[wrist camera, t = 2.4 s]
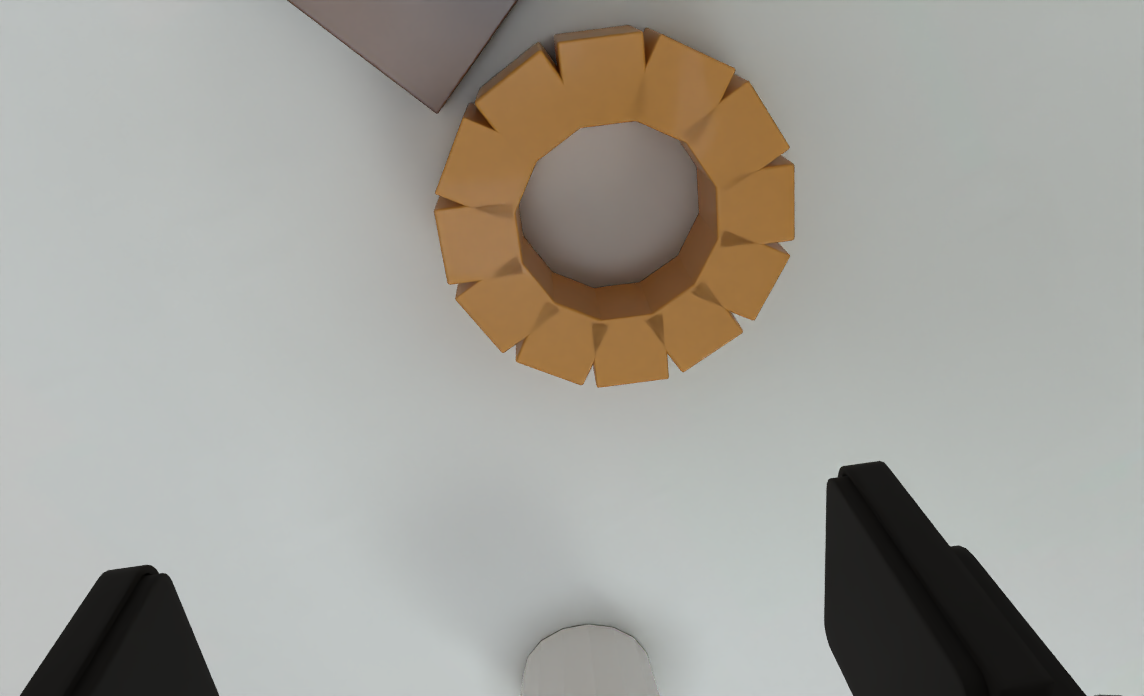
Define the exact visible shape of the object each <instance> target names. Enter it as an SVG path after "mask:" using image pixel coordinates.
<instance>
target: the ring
mask: <svg viewBox="0 0 1144 696" xmlns="http://www.w3.org/2000/svg"><path fill="white" fill-rule="evenodd" d="M553 39H554V47H555V56H556V64H557V66H556V64H555V63H554V62H553V60H552V59H551V57H550V56H549V55H548V53H547V52H546V50H545V49H544V48H543V46H542V45H541V43H539V42H537V43H535V44H534V45H533V46H532V47H530V48H529V49H528V50H527V51H525V52H524V53H523V54H522V55H520V56H519V57H518V58H517V59H515V60H514V61H513V62H512V63H511V64H509V65H508V66H507V67H506V68H504V69H503V70H502V71H501V72H499V73H498V74H497V75H496V76H494V77H493V78H492V79H491V80H489V81H488V82H487V83H486V84H484V85H483V86H482V87H481V88H480V89H479V92H478V94H477V97H476V100H475V104H473V103H469V104H468V106H467V108H466V111H465V113H464V116H463V118H462V121H461V124H460V126H459V129H458V132H457V134H456V137H455V140H454V143H453V145H452V148H451V151H450V153H449V156H448V159H447V162H446V164H445V167H444V170H443V172H442V175H441V178H440V181H439V183H438V186H437V189H436V191H435V194H437V195H439V199H438V201H437V204H436V207H435V209H434V215H435V220H436V225H437V230H438V236H439V241H440V246H441V251H442V257H443V262H444V267H445V272H446V278H447V283H448V284H450V285H451V284H458V287H457V292H456V297H455V299H456V301H457V302H458V303H459V304H460V305H461V307H462V308H463V309H464V310H465V311H466V312H467V313H468V314H469V316H470V317H471V318H472V319H473V320H474V321H475V322H476V324H477V325H478V326H479V327H480V328H481V329H482V330H483V332H484V333H485V334H486V335H487V336H488V337H489V338H490V340H491V341H492V342H493V343H494V344H495V345H496V346H497V348H498V349H499V350H500V351H501V352H502V353H504V352H506V351H507V350H509V349H510V348H511V347H513V346H514V345H516V362H518V363H521V364H524V365H526V366H529V367H532V368H535V369H537V370H540V371H543V372H546V373H548V374H551V375H554V376H557V377H560V378H562V379H565V380H568V381H571V382H573V383H576V384H579V385H583V384H584V382H585V380H586V377H587V375H588V373H589V371H590V369H591V367H592V365H593V369H594V374H595V380H596V385H597V387H598V388H599V387H607V386H614V385H622V384H630V383H638V382H645V381H653V380H661V379H668V378H669V373H668V359H667V354H668V355H669V356H670V358H671V359H672V360H673V361H674V363H675V364H676V365H677V367H678V368H679V369H680V370H681V371H682V372H685V371H686V370H688V369H689V368H691V367H692V366H694V365H695V364H697V363H698V362H700V361H701V360H703V359H704V358H706V357H707V356H709V355H710V354H712V353H713V352H715V351H716V350H718V349H719V348H721V347H722V346H724V345H725V344H727V343H728V342H730V341H731V340H733V339H734V338H736V337H737V336H739V335H740V334H742V332H743V330H742V328H741V327H740V325H739V323H738V322H737V320H736V319H735V317H734V315H733V314H732V312H733V313H735V314H738V315H740V316H743V317H745V318H748V319H750V320H755V319H756V317H757V315H758V313H759V311H760V310H761V308H762V306H763V304H764V302H765V301H766V299H767V297H768V295H769V293H770V292H771V290H772V288H773V286H774V284H775V283H776V281H777V279H778V277H779V275H780V274H781V272H782V270H783V268H784V266H785V265H786V263H787V261H788V259H789V258H790V255H789V254H788V253H787V252H786V251H785V250H784V249H783V248H782V246H781V245H780V244H779V243H778V242H784V241H792V240H794V237H795V227H794V164H793V163H791V162H790V161H789V160H787V159H786V158H784V157H783V156H781V154H783V153H784V152H786V151H787V150H788V149H789V148H790V147H789V145H788V143H787V142H786V140H785V138H784V137H783V135H782V134H781V132H780V130H779V129H778V127H777V125H776V124H775V122H774V121H773V119H772V117H771V116H770V114H769V113H768V111H767V109H766V108H765V106H764V104H763V103H762V101H761V100H760V98H759V96H758V95H757V93H756V92H755V90H754V88H753V87H752V85H751V83H750V82H749V81H747V80H745V79H743V78H741V77H739V76H737V75H734V73H735V68H733V67H731V66H729V65H727V64H724V63H722V62H720V61H718V60H716V59H714V58H712V57H710V56H708V55H705V54H703V53H701V52H699V51H697V50H695V49H693V48H691V47H688V46H686V45H684V44H682V43H680V42H678V41H676V40H674V39H671V38H669V37H667V36H665V35H663V34H661V33H658V32H656V31H654V30H651V29H649V28H645V30H644V32H642V31H640V30H638V29H636V28H634V27H632V26H630V25H625V26H617V27H609V28H601V29H593V30H585V31H578V32H570V33H562V34H555V35H554V37H553ZM632 121H637V122H639V123H642V124H644V125H646V126H648V127H651V128H653V129H655V130H657V131H660V132H662V133H664V134H666V135H669V136H671V137H673V138H675V139H678V140H679V141H680V143H681V144H682V146H683V147H684V149H685V150H686V151H687V153H688V154H689V156H690V157H691V159H692V160H693V162H694V163H695V165H696V166H697V184H698V204H699V214H698V216H697V218H696V220H695V222H694V224H693V226H692V228H691V230H690V232H689V234H688V236H687V238H686V240H685V242H684V244H683V246H682V248H681V250H680V252H679V254H678V256H676V257H675V258H674V259H672V260H671V261H669V262H668V263H667V264H665V265H664V266H662V267H661V268H659V269H658V270H657V271H655V272H654V273H652V274H651V275H650V276H648V277H647V278H645V279H644V280H642V281H641V282H637V283H629V284H621V285H614V286H606V287H598V288H592V287H590V286H587V285H585V284H582V283H579V282H577V281H574V280H572V279H569V278H567V277H564V276H561V275H559V274H556V273H554V272H552V271H551V270H550V269H549V267H548V266H547V265H546V264H545V262H544V261H543V260H542V259H541V257H540V256H539V255H538V254H537V252H536V251H535V250H534V249H533V247H532V246H531V245H530V244H529V243H528V241H527V240H526V239H525V238H524V236H523V232H522V225H521V218H520V211H519V203H520V201H521V198H522V196H523V193H524V191H525V188H526V186H527V184H528V181H529V179H530V176H531V174H532V171H533V169H534V167H535V164H536V162H537V161H538V160H539V159H541V158H542V157H543V156H545V155H546V154H547V153H549V152H550V151H551V150H552V149H554V148H555V147H556V146H558V145H559V144H560V143H562V142H563V141H564V140H565V139H567V138H568V137H569V136H571V135H572V134H573V133H575V132H576V131H577V130H579V129H580V128H585V127H593V126H601V125H608V124H616V123H624V122H632Z"/></svg>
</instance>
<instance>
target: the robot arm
mask: <svg viewBox="0 0 1144 696" xmlns="http://www.w3.org/2000/svg"><path fill="white" fill-rule="evenodd" d="M824 625H825V632H826V636H827V640H828V643H829V646H830V648H831V651H832V653H833V655H834V657H835V659H836V661H837V663H838V665H839V667H840V669H841V671H842V673H843V675H844V678H845V680H846V682H847V684H848V686H849V688H850V690H851V692H852V694H853V696H1086V695H1085V693H1084V692H1083V691H1082V690H1081V688H1080V687H1079V686H1078V685H1077V683H1076V682H1075V681H1074V680H1073V679H1072V677H1071V676H1070V675H1069V674H1068V672H1067V671H1066V670H1065V669H1064V667H1063V666H1062V665H1061V664H1060V662H1059V661H1058V660H1057V659H1056V657H1055V656H1054V655H1053V654H1052V652H1051V651H1050V650H1049V649H1048V647H1047V646H1046V645H1045V644H1044V642H1043V641H1042V640H1041V639H1040V638H1039V636H1038V635H1037V634H1036V633H1035V631H1034V630H1033V629H1032V628H1031V626H1030V625H1029V624H1028V623H1027V621H1026V620H1025V619H1024V618H1023V616H1022V615H1021V614H1020V613H1019V611H1018V610H1017V609H1016V608H1015V606H1014V605H1013V604H1012V603H1011V601H1010V600H1009V599H1008V598H1007V597H1006V595H1005V594H1004V593H1003V592H1002V590H1001V589H1000V588H999V587H998V585H997V584H996V583H995V582H994V580H993V579H992V578H991V577H990V575H989V574H988V573H987V572H986V570H985V569H984V568H983V567H982V565H981V564H980V563H979V562H978V560H977V559H976V558H975V557H974V556H973V555H972V554H971V553H970V552H969V551H968V550H967V549H966V548H964V547H961V546H952V547H950V546H949V545H948V543H947V542H946V541H945V540H944V538H943V537H942V536H941V534H940V533H939V532H938V531H937V529H936V528H935V527H934V525H933V524H932V523H931V522H930V520H929V519H928V518H927V516H926V515H925V514H924V513H923V511H922V510H921V509H920V507H919V506H918V505H917V503H916V502H915V501H914V500H913V498H912V497H911V496H910V494H909V493H908V492H907V491H906V489H905V488H904V487H903V485H902V484H901V483H900V482H899V480H898V479H897V478H896V476H895V475H894V474H893V473H892V471H891V470H890V469H889V467H888V466H887V465H886V464H885V463H884V462H881V461H877V462H869V463H862V464H855V465H848V466H843V467H841V468H840V470H839V473H838V477H837V478H830V479H829V480H828V482H827V495H826V551H825V607H824ZM20 696H219V694H218V692H217V689H216V687H215V684H214V682H213V679H212V677H211V675H210V672H209V670H208V667H207V665H206V662H205V660H204V658H203V655H202V653H201V650H200V648H199V645H198V643H197V641H196V638H195V636H194V633H193V631H192V628H191V626H190V624H189V621H188V619H187V616H186V614H185V611H184V609H183V607H182V604H181V602H180V599H179V597H178V594H177V592H176V590H175V587H174V585H173V582H172V580H171V579H170V577H169V576H168V575H167V574H164V573H160V574H159V573H158V571H157V570H156V569H155V568H154V567H153V566H151V565H142V566H135V567H128V568H121V569H114V570H108V571H106V572H104V573H103V574H102V575H101V576H100V577H99V578H98V580H97V581H96V583H95V584H94V586H93V587H92V589H91V590H90V592H89V593H88V595H87V596H86V598H85V599H84V601H83V602H82V604H81V605H80V607H79V608H78V610H77V611H76V613H75V614H74V616H73V617H72V619H71V620H70V622H69V623H68V625H67V626H66V628H65V629H64V631H63V632H62V634H61V635H60V637H59V638H58V640H57V641H56V643H55V644H54V646H53V647H52V648H51V650H50V651H49V653H48V654H47V656H46V657H45V659H44V660H43V662H42V663H41V665H40V666H39V668H38V669H37V671H36V672H35V674H34V675H33V677H32V678H31V680H30V681H29V683H28V684H27V686H26V687H25V689H24V690H23V692H22V693H21V695H20ZM1095 696H1121V695H1095Z"/></svg>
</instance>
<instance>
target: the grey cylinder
mask: <svg viewBox="0 0 1144 696" xmlns="http://www.w3.org/2000/svg"><path fill="white" fill-rule="evenodd" d="M521 696H660V695H659V692H658V688H657V685H656V682H655V679H654V675H653V672H652V669H651V666H650V663H649V659H648V656H647V653H646V652H645V651H644V649H643V648H642V647H641V646H640V645H639V643H638V642H637V641H636V640H635V639H634V638H633V637H632V636H629V635H627V634H625V633H623V632H621V631H619V630H617V629H615V628H613V627H606V626H597V625H589V624H587V625H582V626H577V627H571V628H566V629H562V630H560V631H558V632H557V633H555V634H553V635H551V636H549V637H548V638H546V639H544V640H542V641H541V642H540V643H539V644H538V646H537V647H536V648H535V649H534V650H533V652H532V653H531V654H530V655H529V656H528V658H527V662H526V666H525V670H524V675H523V682H522V691H521Z"/></svg>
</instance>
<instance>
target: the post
mask: <svg viewBox="0 0 1144 696" xmlns="http://www.w3.org/2000/svg"><path fill="white" fill-rule="evenodd" d="M287 1H289V2H290V3H291V4H293V5H294V6H295V7H297V8H298V9H299V10H301V11H302V12H303V13H305V14H306V15H307V16H308V17H310V18H311V19H312V20H314V21H315V22H316V23H318V24H319V25H320V26H322V27H323V28H324V29H326V30H327V31H328V32H330V33H331V34H332V35H333V36H335V37H336V38H337V39H339V40H340V41H341V42H343V43H344V44H345V45H347V46H348V47H349V48H351V49H352V50H353V51H355V52H356V53H357V54H358V55H360V56H361V57H362V58H364V59H365V60H366V61H368V62H369V63H370V64H372V65H373V66H374V67H376V68H377V69H378V70H380V71H381V72H382V73H384V74H385V75H386V76H387V77H389V78H390V79H391V80H393V81H394V82H395V83H397V84H398V85H399V86H401V87H402V88H403V89H405V90H406V91H407V92H409V93H410V94H411V95H412V96H414V97H415V98H416V99H418V100H419V101H420V102H422V103H423V104H424V105H426V106H427V107H428V108H430V109H431V110H432V111H434V112H435V113H439V111H440V110H441V109H442V107H443V106H444V104H445V103H446V101H447V100H448V99H449V97H450V96H451V94H452V93H453V92H454V90H455V89H456V87H457V86H458V84H459V83H460V82H461V80H462V79H463V77H464V76H465V75H466V73H467V72H468V70H469V69H470V67H471V66H472V65H473V63H474V62H475V60H476V59H477V58H478V56H479V55H480V53H481V52H482V50H483V49H484V48H485V46H486V45H487V43H488V42H489V40H490V39H491V38H492V36H493V35H494V33H495V32H496V31H497V29H498V28H499V26H500V25H501V23H502V22H503V21H504V19H505V18H506V16H507V15H508V14H509V12H510V11H511V9H512V8H513V6H514V5H515V4H516V2H517V1H518V0H287Z"/></svg>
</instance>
